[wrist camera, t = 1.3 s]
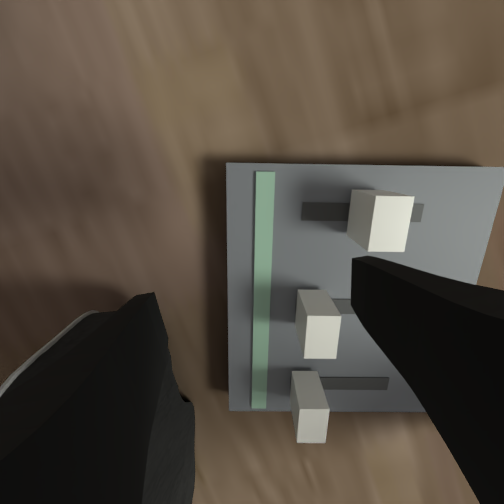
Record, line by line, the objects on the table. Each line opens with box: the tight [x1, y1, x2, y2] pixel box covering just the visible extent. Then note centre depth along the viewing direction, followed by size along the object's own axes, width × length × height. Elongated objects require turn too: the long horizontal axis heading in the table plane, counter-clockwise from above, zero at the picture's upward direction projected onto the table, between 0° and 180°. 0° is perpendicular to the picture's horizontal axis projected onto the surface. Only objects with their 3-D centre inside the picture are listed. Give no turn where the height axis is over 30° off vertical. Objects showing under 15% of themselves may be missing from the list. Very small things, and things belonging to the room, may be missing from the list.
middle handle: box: [295, 289, 341, 359], centre depth 19 cm, size 2×3×4 cm, turn 179°
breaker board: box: [226, 163, 504, 412], centre depth 22 cm, size 18×20×2 cm
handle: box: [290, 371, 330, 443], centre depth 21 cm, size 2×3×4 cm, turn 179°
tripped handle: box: [346, 190, 415, 252], centre depth 17 cm, size 2×3×4 cm, turn 179°
